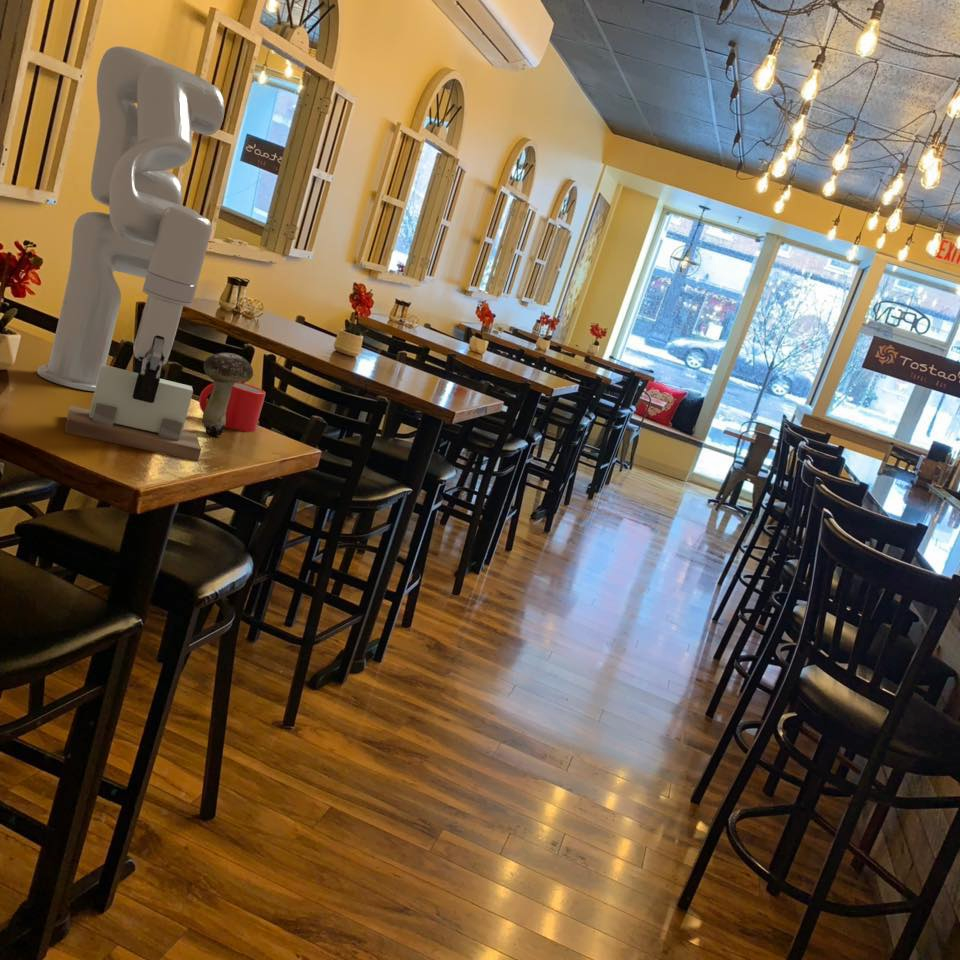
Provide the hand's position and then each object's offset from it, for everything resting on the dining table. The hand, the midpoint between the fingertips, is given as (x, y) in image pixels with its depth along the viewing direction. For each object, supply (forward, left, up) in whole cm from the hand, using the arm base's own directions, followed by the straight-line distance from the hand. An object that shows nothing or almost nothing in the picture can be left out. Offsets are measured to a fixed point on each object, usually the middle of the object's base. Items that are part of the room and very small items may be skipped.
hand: (142, 392), depth 149 cm
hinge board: (+1, 0, -8) cm, 8 cm away
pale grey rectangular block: (+1, 0, -5) cm, 5 cm away
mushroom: (-15, +14, -8) cm, 22 cm away
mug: (-27, +18, -8) cm, 34 cm away
